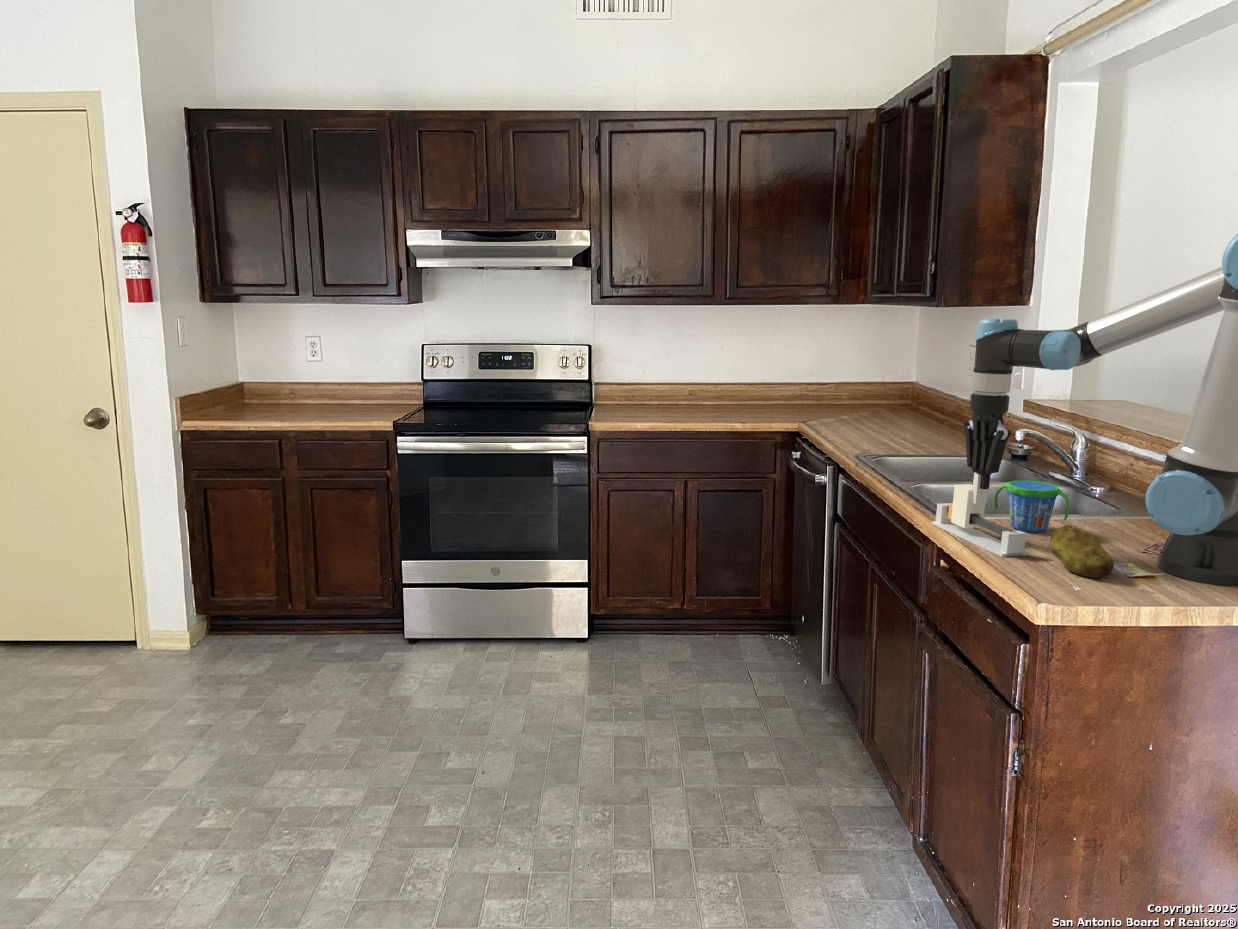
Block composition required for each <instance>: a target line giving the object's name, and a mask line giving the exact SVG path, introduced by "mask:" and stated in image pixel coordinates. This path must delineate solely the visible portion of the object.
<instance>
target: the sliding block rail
mask: <svg viewBox="0 0 1238 929" xmlns="http://www.w3.org/2000/svg"><path fill="white" fill-rule="evenodd" d="M952 506H953V502H948V503H947V502H945V503H944V502H943V503H942V502H941V503H936V513H935V520H931V525H933V526H935V527H938V528H940V529H942V530H944V531H946V532H948V533H950V534H952V535H954V536H957V537H959V538H960V539H963V540H965V541H968V542H969V543H972V544H973V545H976V546H978V547H980V548H982V549H985V550H987V551H989V552H991V553H992V554H995V555H998V556H999V557H1002V558H1005V557H1006V558H1007V557H1026V556H1029V552H1028V551H1025V548H1026V547H1025V546H1026V541H1027V540H1026V539H1027V533H1026V532H1025V531H1021V530H1013V529H1010V528H1008V527H1005V525H1004V526H1003V525H1001V524H999V523H996V522H994V521H991V520H990V519H986V518H985V517H983V518H982V517H980V516H977V515H975V514H970V519H969V521H970V522H972V523H974V524H977V525H979V526H981V528H984V529H986V530H989V531H990V532H993V533H994V534H997V535H1000V536H1001V540H1000V539H998V538H996V537H994V536H991V535H990V534H987V533H985V532H983V531H981V530H977V529H976V528H963V527H961V526H958V525H956V524H954V523H952V522H951V516H952Z"/></svg>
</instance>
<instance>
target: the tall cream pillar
mask: <svg viewBox="0 0 1238 929" xmlns="http://www.w3.org/2000/svg"><path fill="white" fill-rule="evenodd" d="M972 489H973V485H972V483H971V484H969V483H968V484H965V483H964V484H963V483H962V484H954V488H953V496H952V499H953V500H952V503H953V506H952V516H951V522H952V523H954V524H956V525H958V526H961V527H963V528H974V529H976V528H977V529H979V528H980V529H981V528H982V527H981V526H979V525H977V524H974V523H972V522H970V521H969V519H970V514H975V515H977V516H980V517H982V518H985V517H984V515H985V508H986V507H985V506H986V503H983V504H975V503H972V502H971V499H972Z"/></svg>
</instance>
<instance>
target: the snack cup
mask: <svg viewBox="0 0 1238 929" xmlns="http://www.w3.org/2000/svg"><path fill="white" fill-rule="evenodd" d="M1004 488H1005V489H1006V490H1007V495H1008V504H1009V521H1010V525H1011V527H1012V528H1013V529H1015V530H1016V531H1022V532H1027V533H1030V532H1031V533H1042V532H1046V531H1047V530H1048V527H1049V523H1050V521H1051V519H1052V518H1051V517H1052V513H1053V511H1054V506H1055V503H1056V499H1057V497H1058V496H1061V497H1062V498H1064V499H1065V503H1066V504H1065V505H1066V507H1065V508H1066V509H1065V512H1064V514H1065V515H1064V518H1063V519H1064V521H1066V520H1067V519H1068V517H1069V515H1070V512H1071V501H1070V499H1069V496H1068V494H1066V492H1064V491H1062V490H1061V488H1060V487H1059V486H1058V485H1056V484H1053V483H1049V482H1044V481H1036V480H1024V479H1023V480H1010V481H1009V482H1007V483H1005V484H1003V485H1002V486H1000V487H999V488H998V489H997V490H996V491H995V494H994V496H993V508H994V509H995V510H997V509H998V508H999V504H998V502H999V500H998V498H999V497H998V496H999V493H1000V492H1001V491H1002V490H1003V489H1004Z"/></svg>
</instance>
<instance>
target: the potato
mask: <svg viewBox="0 0 1238 929" xmlns="http://www.w3.org/2000/svg"><path fill="white" fill-rule="evenodd" d="M1049 537H1050V538H1049V546H1050V549H1051V550H1052V551H1051V552H1052V554H1054V556H1055V557H1056V558H1057V559H1058V560H1060V561H1061V564H1063V565H1062V566H1063V567H1064V568H1065V569H1066V570H1068V571H1070V572H1071V573H1074V574H1076V575H1080V576H1082V577H1088V578H1094V579H1101V578H1105V577H1108V576H1110V575H1111V574H1112V572H1113V569H1114V567H1115V566H1114V560H1113V558H1112V557H1111V556H1110V553H1108V552H1107V550H1105V549H1104V547H1103V546H1102V545H1101V542H1099V541H1098V540H1096V538H1094V536H1092V535H1091V534H1090V533H1088V532H1087V530H1085V529H1084V528H1081V527H1078V526H1076V525H1063V526H1060V527H1057V528H1055V529H1054V530H1053V531H1052V532H1051V534H1050V536H1049Z"/></svg>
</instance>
